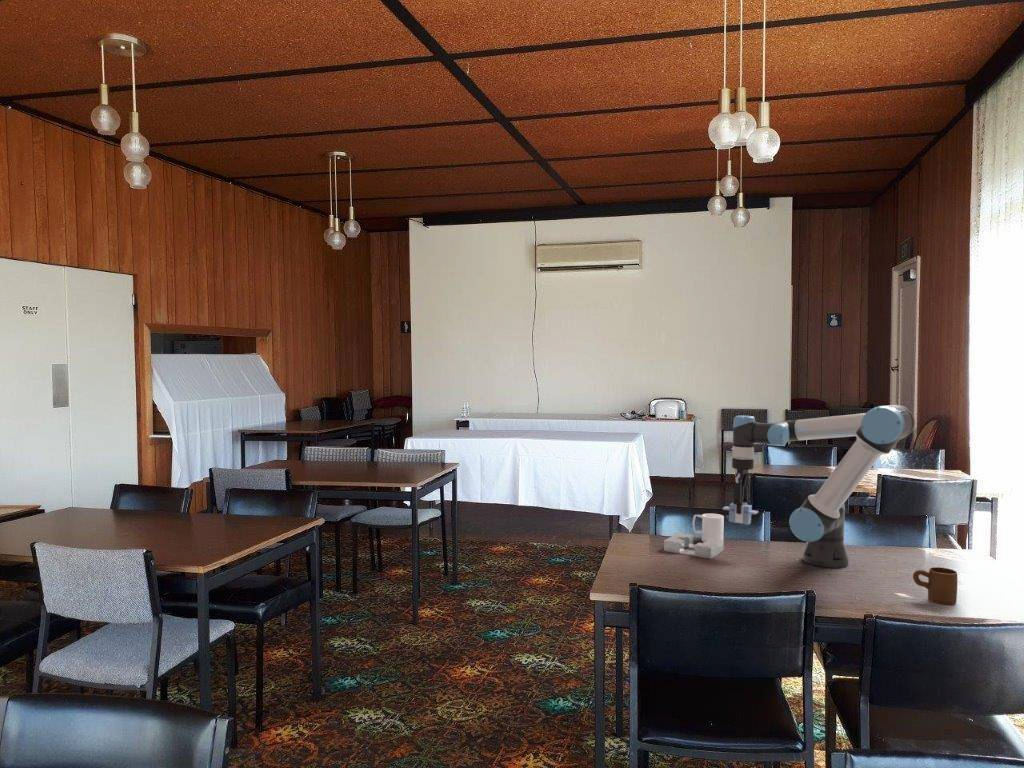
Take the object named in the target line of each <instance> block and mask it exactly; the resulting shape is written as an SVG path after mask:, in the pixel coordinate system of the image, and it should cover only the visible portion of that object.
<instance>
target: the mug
mask: <svg viewBox="0 0 1024 768" xmlns="http://www.w3.org/2000/svg"><path fill="white" fill-rule="evenodd" d="M920 575H921V576H923V577H926V578H928V580H927V581H925V580H921V579H920V577H919V576H920ZM912 578H913V582H914V583H915V584H916V585H918V586H920V587H923V588H926V590H927V599H928V600H929V601H930V602H932V603H934V604H939V605H943V606H944V605H945V606H952V605H953V606H954V605H955V604H956V603H957V599H958V572H957V571H956V570H954V569H951V568H946V567H940V566H939V567H938V566H937V567H935V566H934V567H930V568H929V569H928V571H926V570H924V569H916V570H915V571H914V572H913V574H912Z"/></svg>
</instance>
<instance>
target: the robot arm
mask: <svg viewBox="0 0 1024 768" xmlns="http://www.w3.org/2000/svg"><path fill="white" fill-rule="evenodd" d="M915 425H916V421H915V417H914V414H913V413H912V411H910V409H909V408H907V407H905V406H903V405H902V404H900V405H899V404H890V405H889V404H888V405H878V406H875V407H873V408H871V409H870V410H868V411H867V412H862V413H855V414H854V413H853V414H845V415H832V416H824V417H816V418H815V417H814V418H813V417H812V418H804V419H802V418H801V419H793V420H782V421H777V422H776V421H775V422H757V421H756V418H755V416H751V415H736V416H735V417H733V425H732V447H731V451H732V454H731V455H732V458H731V462H732V463H731V467H732V469H735V470H736V473H735V476H733V502H732V503H733V504H736V511H735V522H739V523H738V524H740V523H743V512H744V505H743V504H746V505H748V503H751V499H750V494H751V491H750V490H751V477H752V474H751V473H750V472H749V470H753V469H754V459H753V458H754V457H755V444H763V445H772V446H785V445H786V444H787V443H788V442H795V441H798V442H799V441H808V440H809V441H810V440H821V439H823V440H824V439H835V438H836V439H837V438H847V437H856V439H855V442H853V443H852V445H851V447H850V448H849V449H848V451H846V454H844V456H843V457H842V458H841V460H840V461H839V462H838V464H837V465H836V466H835V468H834V469H833V471H832V472H831V474H830V475H829V476H828V477H827V479H826V480H825V482H824V483H823V484H822V485H821V487H820V489H818V491H817V492H816V493H815V494H814V493H813V494H810V495H808V496H807V497H806V499H805V501H804V502H803V503H802V504H801V506H800V507H799V508H796V509H794V511H792V513H791V514H790V517H789V521H788V524H789V528H790V530H791V532H792V534H793V535H794V536H795V538H797V539H799V540H800V541H803V542H806V544H805V547H804V549H803V552H802V560H803V561H804V563H806V564H810V565H813V566H816V567H820V568H822V567H823V568H832V569H833V568H835V569H837V568H845V567H848V566H849V563H850V562H849V561H850V560H849V555H848V552H847V548H846V545H845V542H844V541H845V515H846V514H845V513H846V508H845V502H846V501H847V500H848V498H849V497H850V496H851V495H852V493H853V492H854V491H855V490H856V489H857V487H858V485H859V484H860V483H861V482H862V480H863V479H864V478H865V476H867V474H868V472H869V471H870V470H871V468H872V467H873V466H874V465H875V463H876V462H877V461H878V460H879V458H880V457H881V456H882V455H889V454H890V452H892V450H893V449H894V447H896V445H897V444H898V442H899V441H900V440H903V439H906V438H907V437H908V436H909V435H911V434H912V432H913V430H914V429H915Z"/></svg>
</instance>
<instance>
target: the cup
mask: <svg viewBox="0 0 1024 768" xmlns="http://www.w3.org/2000/svg"><path fill="white" fill-rule="evenodd" d="M696 517H697V518H701V519H702V520H701V521H702V522H701V530H696V526H695V525H696V524H695V521H696ZM724 520H725V516H724V515H722V514H718V513H703V514H695V515H693V518H692V531H693V532H694V534H696V535H701V541H702V542H703V541H704V539H706V538H707V537H708V538H715V539H721V540H724V529H725V527H724V524H725V523H724V522H725V521H724Z"/></svg>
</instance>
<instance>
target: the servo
mask: <svg viewBox="0 0 1024 768" xmlns="http://www.w3.org/2000/svg"><path fill="white" fill-rule="evenodd" d="M733 503H734V502H731V503H730V504H729V506H727V505H725V506H724V507H722V511H728V515H725V520H728V522H729V523H735V524H740V525H746V526H747V525H750V524H751V523H752V515H757V514H758V513H759V510H755V509H754V510H753V509H752V508H753V505H752V504H747V505H746V504H743V505H744V512H743V523H739V522H735V511H736V504H733Z"/></svg>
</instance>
